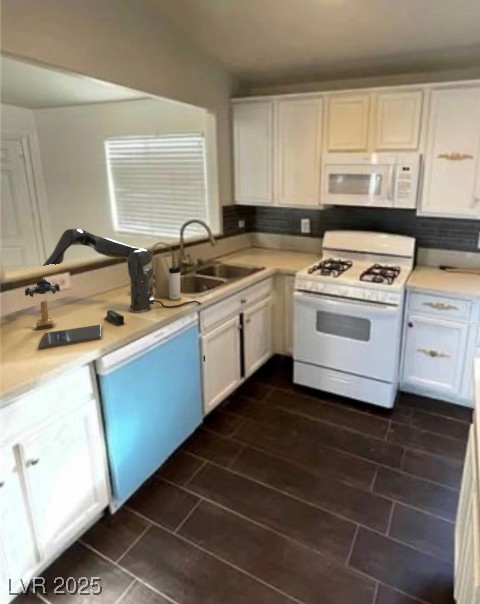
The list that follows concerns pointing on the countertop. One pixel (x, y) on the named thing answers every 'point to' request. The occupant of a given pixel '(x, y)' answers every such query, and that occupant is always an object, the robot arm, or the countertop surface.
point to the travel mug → (174, 283)
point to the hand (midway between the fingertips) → (43, 293)
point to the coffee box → (150, 278)
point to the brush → (44, 317)
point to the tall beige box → (162, 274)
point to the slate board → (71, 336)
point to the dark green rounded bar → (115, 317)
